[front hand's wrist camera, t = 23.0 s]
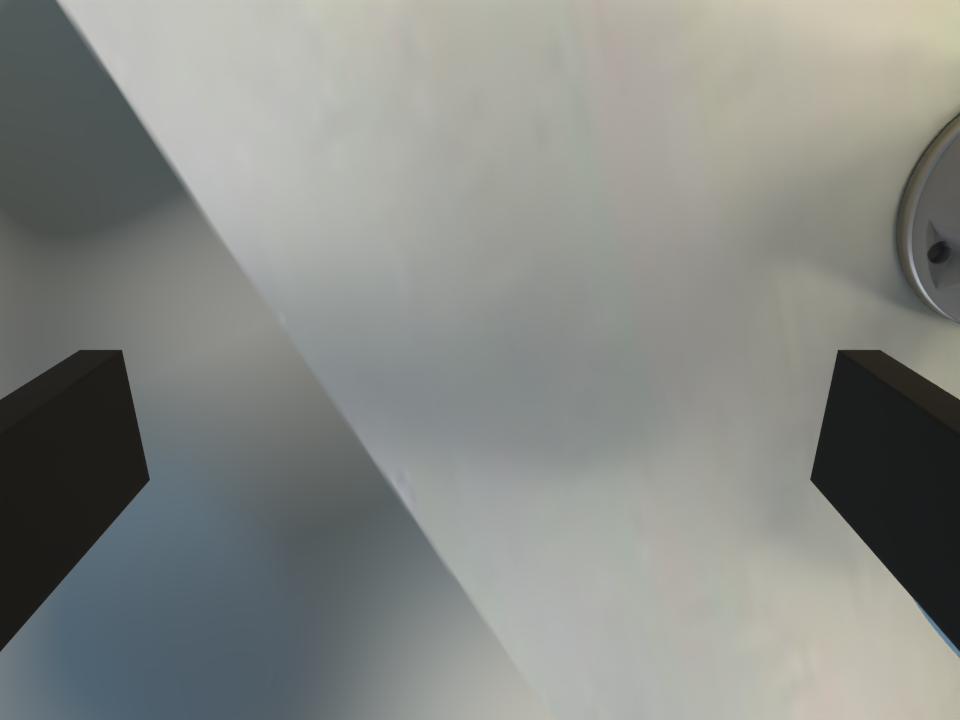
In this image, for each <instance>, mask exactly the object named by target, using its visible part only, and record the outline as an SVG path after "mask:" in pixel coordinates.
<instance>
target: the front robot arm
mask: <svg viewBox="0 0 960 720" xmlns="http://www.w3.org/2000/svg"><path fill="white" fill-rule="evenodd" d="M897 248H898V254H899V260H900V263H901V267H902V270H903V272H904V275H905V277H906V279H907V281H908V283H909V284H910V286H911V288H912V289H913V291H914V292H915V293H916V294H917V296H918V297H919V298H920V299H921V300H922V301H923V302H924V303H925V304H926V305H928V306H929V307H930V308H931V309H933V310H934V311H936V312H938V313H939V314H941V315H943V316H945V317H947V318H949V319H951V320H954V321H956V322H958V323H960V115H959V116H958V117H957V118H955V119H954V120H953V121H952V122H951V123H950V124H949V125H948V126H947V127H946V128H945V129H944V130H943V131H942V132H941V134H940V135H939V136H938V137H937V138H936V139H935V140H934V142H933V143H932V144H931V146H930V147H929V148H928V150H927V151H926V152H925V154H924V155H923V157H922V159H921V160H920V162H919V163H918V165H917V167H916V169H915V171H914V172H913V174H912V176H911V178H910V181H909V183H908V185H907V188H906V190H905V193H904V196H903V200H902V203H901V207H900V211H899V217H898V224H897ZM149 480H150V479H149V474H148V469H147V465H146V460H145V456H144V451H143V446H142V442H141V437H140V432H139V428H138V423H137V418H136V414H135V409H134V404H133V400H132V395H131V390H130V386H129V381H128V376H127V372H126V367H125V362H124V358H123V353H122V350H79V351H78V352H76V353H75V354H73V355H71V356H70V357H68V358H67V359H65V360H63V361H62V362H60V363H59V364H57V365H55V366H54V367H52V368H51V369H49V370H47V371H46V372H44V373H43V374H41V375H39V376H38V377H36V378H35V379H33V380H31V381H30V382H28V383H27V384H25V385H23V386H22V387H20V388H19V389H17V390H15V391H14V392H12V393H11V394H9V395H7V396H6V397H4V398H3V399H1V400H0V651H1V650H2V649H3V648H4V647H5V646H6V644H7V643H8V642H9V641H10V640H11V639H12V638H13V636H14V635H15V634H16V633H17V632H18V631H19V630H20V628H21V627H22V626H23V625H24V624H25V623H26V622H27V620H28V619H29V618H30V617H31V616H32V615H33V613H34V612H35V611H36V610H37V609H38V608H39V607H40V605H41V604H42V603H43V602H44V601H45V600H46V599H47V597H48V596H49V595H50V594H51V593H52V592H53V590H54V589H55V588H56V587H57V586H58V585H59V584H60V582H61V581H62V580H63V579H64V578H65V577H66V576H67V574H68V573H69V572H70V571H71V570H72V569H73V567H74V566H75V565H76V564H77V563H78V562H79V561H80V559H81V558H82V557H83V556H84V555H85V554H86V553H87V551H88V550H89V549H90V548H91V547H92V546H93V544H94V543H95V542H96V541H97V540H98V539H99V538H100V536H101V535H102V534H103V533H104V532H105V531H106V530H107V528H108V527H109V526H110V525H111V524H112V523H113V521H114V520H115V519H116V518H117V517H118V516H119V515H120V513H121V512H122V511H123V510H124V509H125V508H126V507H127V505H128V504H129V503H130V502H131V501H132V500H133V498H134V497H135V496H136V495H137V494H138V493H139V492H140V490H141V489H142V488H143V487H144V486H145V485H146V484H147V482H148V481H149ZM810 480H811V481H812V482H813V484H814V485H815V486H816V487H817V488H818V489H819V490H820V492H821V493H822V494H823V495H824V496H825V497H826V498H827V500H828V501H829V502H830V503H831V504H832V505H833V507H834V508H835V509H836V510H837V511H838V512H839V513H840V515H841V516H842V517H843V518H844V519H845V520H846V521H847V523H848V524H849V525H850V526H851V527H852V528H853V530H854V531H855V532H856V533H857V534H858V535H859V536H860V538H861V539H862V540H863V541H864V542H865V543H866V544H867V546H868V547H869V548H870V549H871V550H872V551H873V553H874V554H875V555H876V556H877V557H878V558H879V559H880V561H881V562H882V563H883V564H884V565H885V566H886V567H887V569H888V570H889V571H890V572H891V573H892V574H893V576H894V577H895V578H896V579H897V580H898V581H899V582H900V584H901V585H902V586H903V587H904V588H905V589H906V590H907V592H908V593H909V594H910V595H911V596H912V597H913V599H914V601H915V602H916V604H917V605H918V607H919V608H920V610H921V611H922V613H923V614H924V616H925V617H926V618H927V620H928V621H929V622H930V624H931V625H932V626H933V627H934V629H935V630H936V631H937V633H938V634H939V635H940V636H941V637H942V639H943V640H944V641H945V642H946V643H947V644H948V646H949V647H950V648H951V649H952V650H953V651H954V652H955V653H956V654H957V656H958V657H959V658H960V400H959V399H957V398H956V397H954V396H953V395H951V394H949V393H948V392H946V391H945V390H943V389H941V388H940V387H938V386H937V385H935V384H933V383H932V382H930V381H929V380H927V379H925V378H924V377H922V376H921V375H919V374H917V373H916V372H914V371H913V370H911V369H909V368H908V367H906V366H905V365H903V364H901V363H900V362H898V361H897V360H895V359H893V358H892V357H890V356H889V355H887V354H885V353H884V352H882V351H881V350H838V353H837V358H836V362H835V367H834V372H833V376H832V381H831V386H830V390H829V395H828V400H827V404H826V409H825V413H824V418H823V423H822V427H821V432H820V437H819V441H818V446H817V451H816V455H815V460H814V465H813V469H812V474H811V479H810Z"/></svg>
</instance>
